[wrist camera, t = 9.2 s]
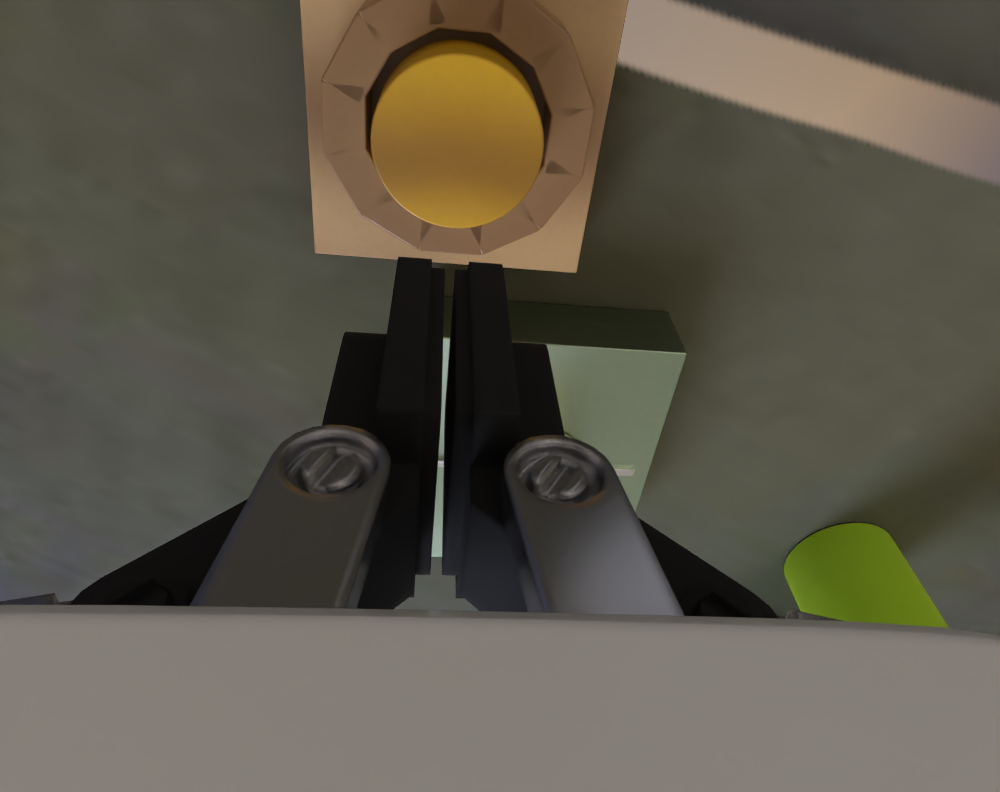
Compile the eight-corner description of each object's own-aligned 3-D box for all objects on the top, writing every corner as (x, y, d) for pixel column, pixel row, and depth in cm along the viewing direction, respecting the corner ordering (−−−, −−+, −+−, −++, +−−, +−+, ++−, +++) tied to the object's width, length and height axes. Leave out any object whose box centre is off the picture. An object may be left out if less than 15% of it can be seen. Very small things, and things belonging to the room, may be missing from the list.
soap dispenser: (748, 564, 38) (950, 1062, 22) (870, 506, 36) (1194, 1019, 20) (792, 612, 41) (999, 1083, 25) (908, 561, 39) (1217, 1047, 23)
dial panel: (419, 294, 27) (415, 338, 25) (668, 311, 28) (688, 355, 26) (410, 508, 34) (406, 559, 32) (609, 516, 35) (620, 565, 33)
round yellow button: (376, 29, 18) (369, 43, 17) (549, 48, 19) (556, 63, 17) (376, 198, 21) (370, 222, 20) (527, 211, 22) (532, 235, 20)
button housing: (308, -113, 19) (278, -107, 16) (625, -73, 20) (656, -60, 17) (324, 226, 25) (305, 279, 22) (568, 245, 26) (583, 299, 23)
